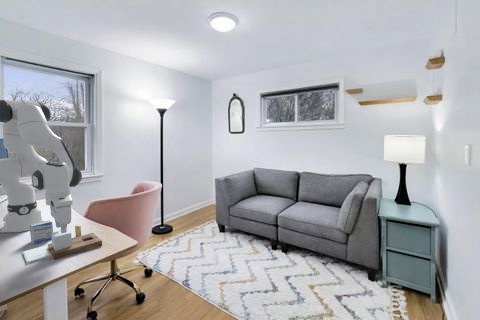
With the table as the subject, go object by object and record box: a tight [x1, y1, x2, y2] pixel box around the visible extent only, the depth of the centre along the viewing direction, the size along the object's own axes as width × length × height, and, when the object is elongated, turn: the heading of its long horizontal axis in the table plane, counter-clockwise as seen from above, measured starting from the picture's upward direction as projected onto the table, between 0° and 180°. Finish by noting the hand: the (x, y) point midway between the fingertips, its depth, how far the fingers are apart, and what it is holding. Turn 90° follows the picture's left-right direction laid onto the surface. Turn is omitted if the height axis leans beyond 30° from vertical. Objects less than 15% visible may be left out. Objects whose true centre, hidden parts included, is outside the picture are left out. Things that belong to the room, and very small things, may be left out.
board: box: [47, 232, 103, 260], centre depth 110 cm, size 13×18×6 cm
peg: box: [74, 224, 82, 237], centre depth 121 cm, size 2×2×6 cm
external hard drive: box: [22, 245, 53, 265], centre depth 103 cm, size 2×8×12 cm
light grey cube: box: [51, 228, 73, 251], centre depth 106 cm, size 6×6×6 cm
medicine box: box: [29, 220, 54, 245], centre depth 117 cm, size 8×4×9 cm, turn 143°
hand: (61, 229), depth 105 cm, fingers open, 8 cm apart
